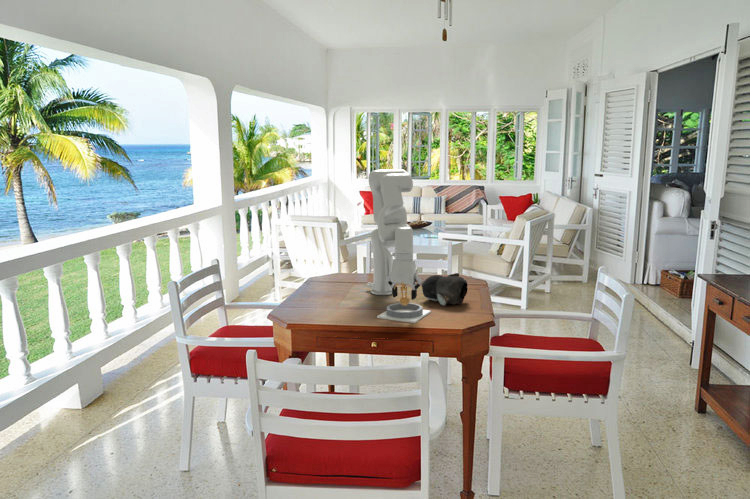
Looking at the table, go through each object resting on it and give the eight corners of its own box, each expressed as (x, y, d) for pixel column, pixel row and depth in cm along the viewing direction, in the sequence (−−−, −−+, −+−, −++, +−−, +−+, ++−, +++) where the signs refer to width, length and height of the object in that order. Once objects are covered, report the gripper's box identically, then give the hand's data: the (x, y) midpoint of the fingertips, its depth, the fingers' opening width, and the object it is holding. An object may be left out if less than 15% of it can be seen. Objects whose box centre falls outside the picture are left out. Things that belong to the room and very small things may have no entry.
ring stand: (377, 317, 237) (377, 310, 236) (395, 307, 252) (395, 300, 251) (414, 323, 229) (414, 315, 229) (431, 312, 244) (431, 304, 243)
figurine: (414, 304, 242) (414, 276, 240) (413, 307, 236) (412, 279, 234) (395, 303, 243) (394, 276, 241) (393, 307, 238) (392, 279, 235)
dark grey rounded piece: (459, 319, 251) (457, 296, 244) (415, 312, 260) (411, 289, 252) (471, 291, 265) (470, 268, 258) (429, 285, 274) (426, 263, 266)
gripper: (381, 256, 237) (381, 297, 240) (419, 259, 229) (419, 302, 232) (389, 253, 243) (389, 293, 246) (427, 256, 235) (427, 297, 238)
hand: (404, 297), depth 239 cm, fingers closed on figurine, 8 cm apart
